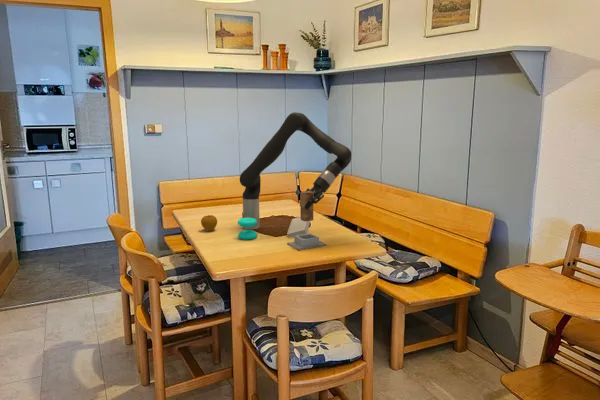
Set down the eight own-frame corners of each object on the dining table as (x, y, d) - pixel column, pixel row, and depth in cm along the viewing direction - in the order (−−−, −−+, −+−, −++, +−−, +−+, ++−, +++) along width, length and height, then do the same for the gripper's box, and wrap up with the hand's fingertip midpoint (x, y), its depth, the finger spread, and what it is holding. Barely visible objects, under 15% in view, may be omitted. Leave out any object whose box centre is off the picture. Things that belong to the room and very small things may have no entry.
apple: (209, 227, 261) (209, 212, 259) (221, 230, 256) (220, 214, 254) (198, 231, 254) (197, 215, 252) (209, 233, 249) (208, 217, 247)
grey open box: (298, 250, 220) (298, 241, 219) (287, 244, 229) (287, 236, 228) (326, 245, 228) (326, 237, 227) (314, 240, 237) (314, 231, 236)
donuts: (243, 216, 245) (260, 217, 242) (243, 234, 247) (260, 236, 244) (234, 220, 236) (251, 222, 233) (234, 239, 238) (252, 241, 235)
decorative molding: (289, 242, 243) (307, 238, 241) (286, 234, 242) (304, 229, 241) (294, 226, 276) (310, 222, 275) (292, 218, 275) (308, 214, 274)
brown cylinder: (304, 221, 223) (304, 193, 220) (300, 219, 226) (300, 191, 224) (313, 220, 225) (313, 192, 223) (309, 218, 229) (309, 191, 226)
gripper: (312, 174, 231) (291, 200, 228) (327, 178, 219) (306, 205, 216) (321, 183, 235) (300, 209, 231) (337, 188, 223) (315, 215, 219)
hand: (303, 207), depth 224 cm, fingers closed on brown cylinder, 4 cm apart
